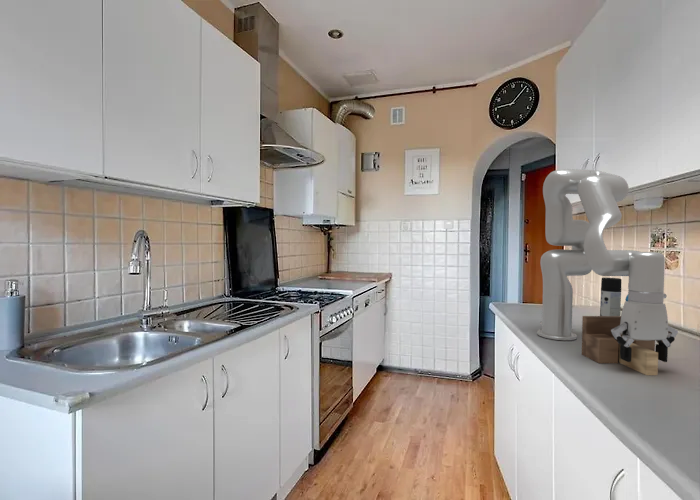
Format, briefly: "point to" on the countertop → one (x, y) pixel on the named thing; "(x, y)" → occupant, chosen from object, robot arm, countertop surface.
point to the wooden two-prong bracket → (604, 339)
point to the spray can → (610, 297)
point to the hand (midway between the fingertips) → (643, 360)
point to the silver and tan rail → (641, 360)
